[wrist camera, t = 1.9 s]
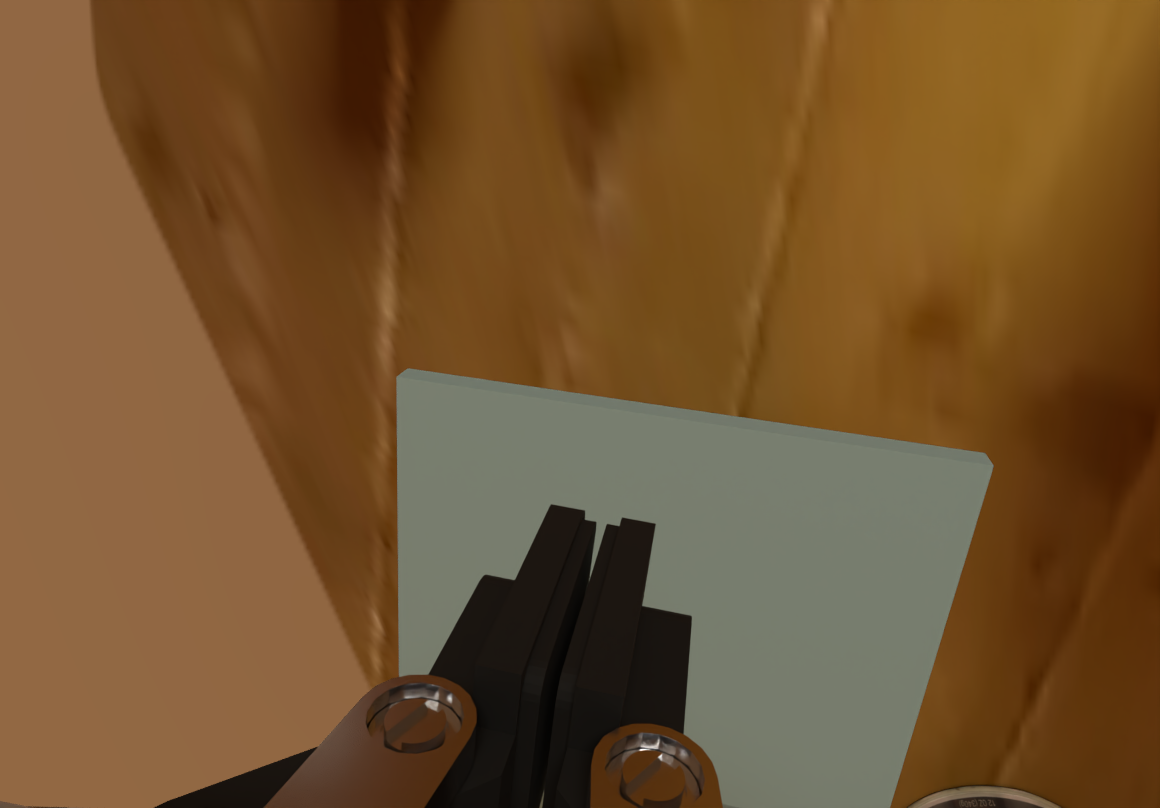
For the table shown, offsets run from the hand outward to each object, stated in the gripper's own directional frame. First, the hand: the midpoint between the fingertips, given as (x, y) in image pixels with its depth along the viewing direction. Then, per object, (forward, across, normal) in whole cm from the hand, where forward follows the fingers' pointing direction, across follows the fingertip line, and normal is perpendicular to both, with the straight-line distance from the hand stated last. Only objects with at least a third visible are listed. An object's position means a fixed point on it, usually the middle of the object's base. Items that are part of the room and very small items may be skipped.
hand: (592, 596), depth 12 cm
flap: (+10, -1, +13) cm, 17 cm away
